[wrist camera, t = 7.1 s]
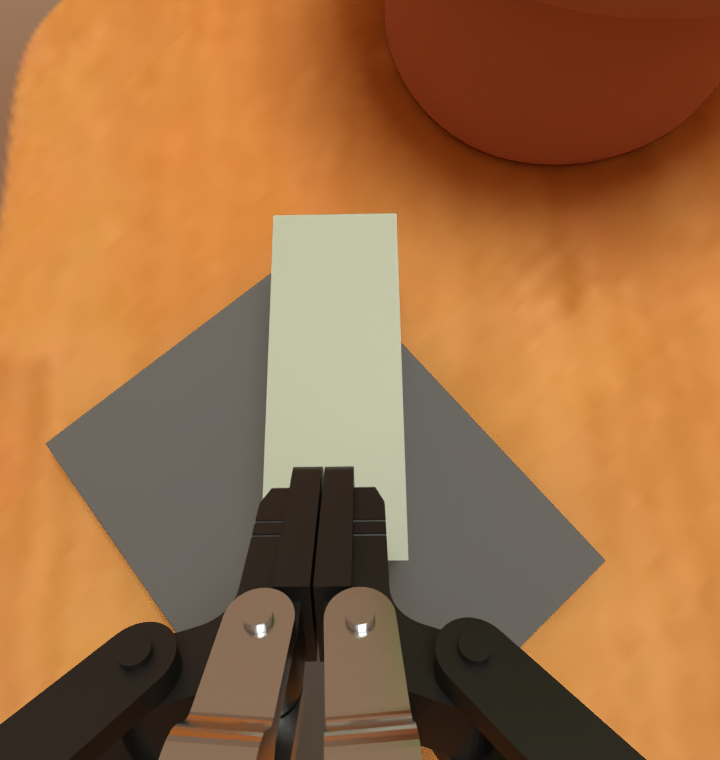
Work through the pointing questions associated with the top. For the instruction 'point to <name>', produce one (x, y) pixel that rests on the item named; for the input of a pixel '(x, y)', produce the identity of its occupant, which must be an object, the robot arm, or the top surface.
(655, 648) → the top surface
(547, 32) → the potted cactus
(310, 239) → the sage block
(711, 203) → the top surface
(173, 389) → the rubber mat
